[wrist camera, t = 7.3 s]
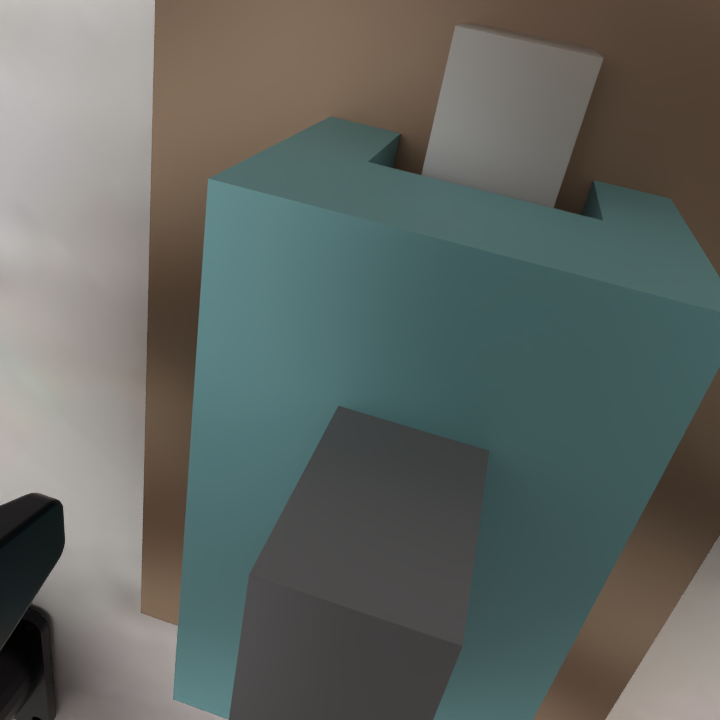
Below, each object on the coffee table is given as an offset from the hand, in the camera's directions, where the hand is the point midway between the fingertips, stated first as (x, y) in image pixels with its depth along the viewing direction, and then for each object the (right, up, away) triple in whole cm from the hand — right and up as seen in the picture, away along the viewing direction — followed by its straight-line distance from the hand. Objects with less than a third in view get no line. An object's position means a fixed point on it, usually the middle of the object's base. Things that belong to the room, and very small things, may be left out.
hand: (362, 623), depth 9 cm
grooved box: (+1, +3, +5) cm, 6 cm away
